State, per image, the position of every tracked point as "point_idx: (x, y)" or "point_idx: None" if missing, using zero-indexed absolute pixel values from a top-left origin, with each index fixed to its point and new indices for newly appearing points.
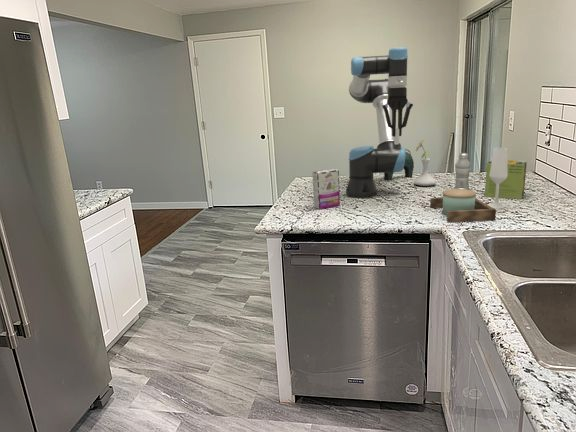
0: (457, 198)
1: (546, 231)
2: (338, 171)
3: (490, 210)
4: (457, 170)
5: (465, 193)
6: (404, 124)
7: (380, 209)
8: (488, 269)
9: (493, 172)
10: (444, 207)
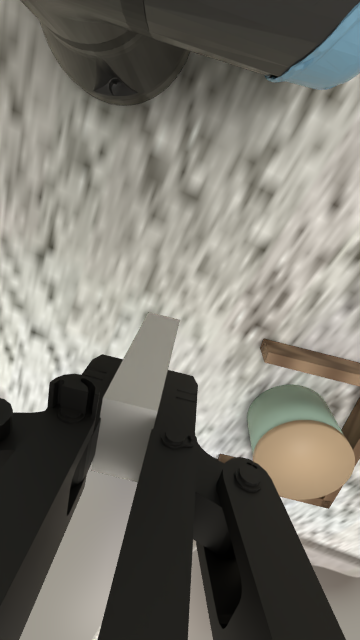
0: None
1: (341, 558)
2: None
3: (315, 504)
4: None
5: (307, 481)
6: (212, 561)
7: (114, 300)
8: None
9: None
10: (249, 428)
